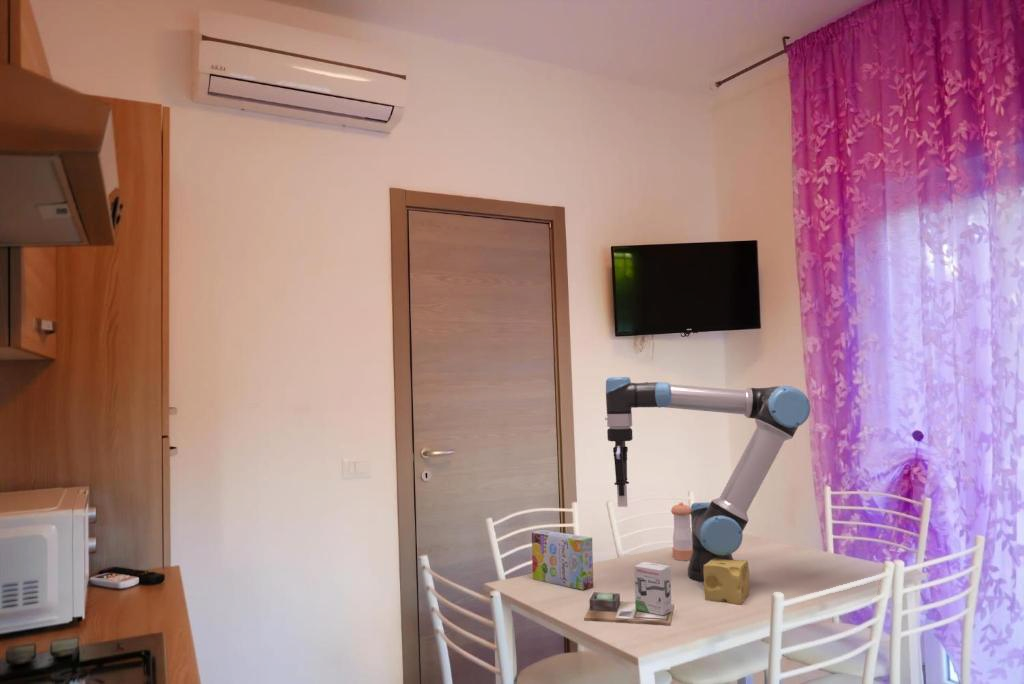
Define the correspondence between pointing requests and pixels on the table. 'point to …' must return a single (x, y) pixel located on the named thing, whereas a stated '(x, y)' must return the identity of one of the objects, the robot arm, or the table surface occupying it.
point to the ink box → (653, 588)
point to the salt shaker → (682, 532)
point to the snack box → (562, 559)
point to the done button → (605, 596)
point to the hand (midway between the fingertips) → (622, 506)
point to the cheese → (726, 580)
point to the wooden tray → (623, 612)
